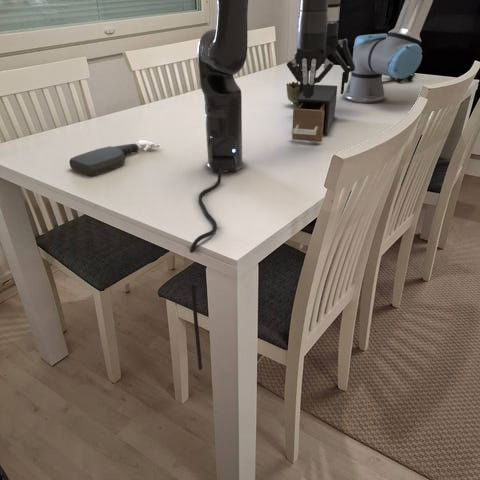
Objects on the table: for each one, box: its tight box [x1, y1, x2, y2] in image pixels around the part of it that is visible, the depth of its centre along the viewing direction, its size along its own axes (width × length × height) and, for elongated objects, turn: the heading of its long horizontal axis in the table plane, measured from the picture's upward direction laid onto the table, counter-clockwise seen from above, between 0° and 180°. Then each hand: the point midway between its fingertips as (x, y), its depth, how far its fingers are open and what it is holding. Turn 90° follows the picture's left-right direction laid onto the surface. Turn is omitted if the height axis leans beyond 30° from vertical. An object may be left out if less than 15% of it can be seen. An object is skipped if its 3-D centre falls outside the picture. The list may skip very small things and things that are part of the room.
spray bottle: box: [68, 139, 160, 177], centre depth 124 cm, size 3×11×24 cm
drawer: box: [291, 102, 327, 142], centre depth 136 cm, size 24×9×9 cm, turn 163°
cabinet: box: [295, 84, 338, 137], centre depth 145 cm, size 20×10×11 cm, turn 163°
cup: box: [286, 81, 301, 108], centre depth 165 cm, size 8×7×8 cm
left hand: (307, 97), depth 124 cm, fingers closed
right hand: (321, 92), depth 149 cm, fingers open, 13 cm apart
